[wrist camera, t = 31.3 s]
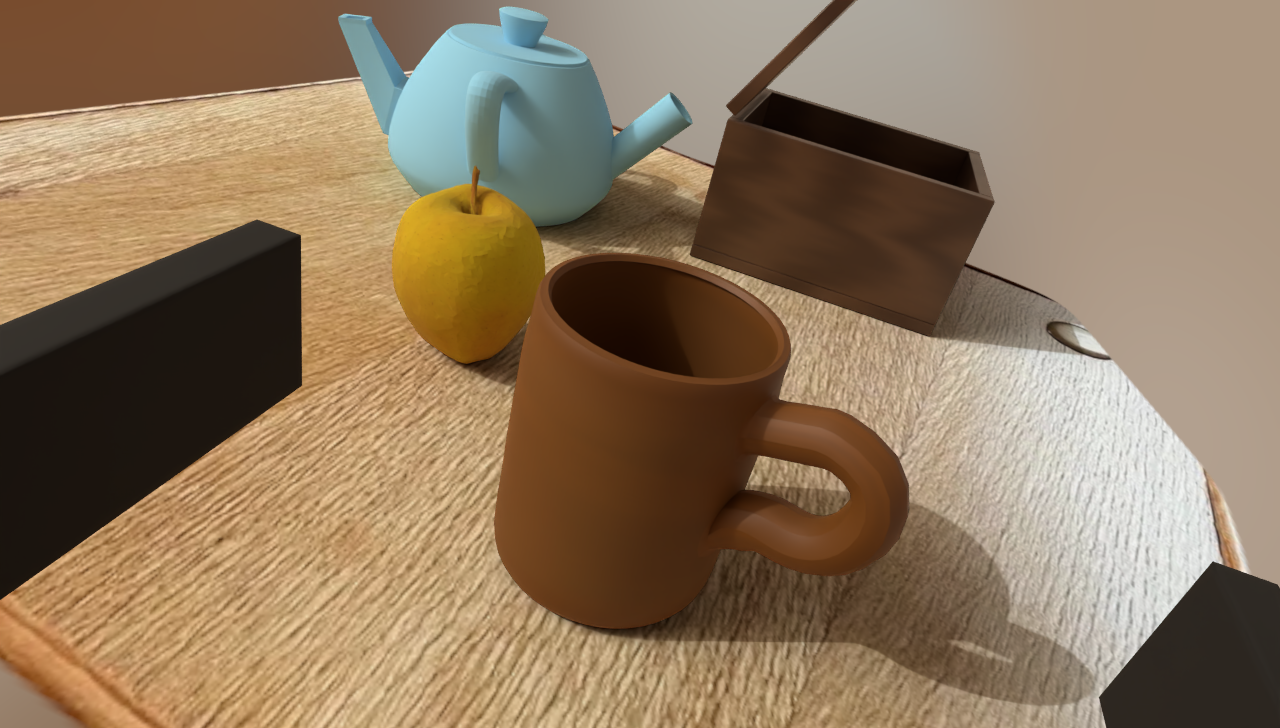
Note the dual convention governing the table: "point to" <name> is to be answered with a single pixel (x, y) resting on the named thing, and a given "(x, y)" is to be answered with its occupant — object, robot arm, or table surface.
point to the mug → (668, 446)
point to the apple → (467, 269)
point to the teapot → (505, 115)
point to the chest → (843, 209)
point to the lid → (789, 54)
